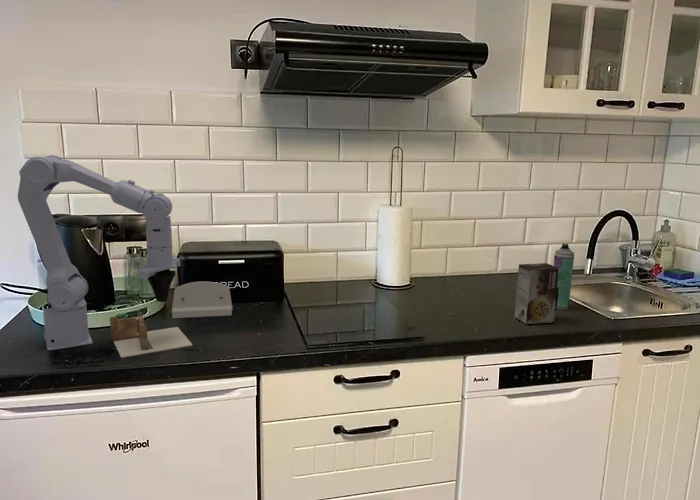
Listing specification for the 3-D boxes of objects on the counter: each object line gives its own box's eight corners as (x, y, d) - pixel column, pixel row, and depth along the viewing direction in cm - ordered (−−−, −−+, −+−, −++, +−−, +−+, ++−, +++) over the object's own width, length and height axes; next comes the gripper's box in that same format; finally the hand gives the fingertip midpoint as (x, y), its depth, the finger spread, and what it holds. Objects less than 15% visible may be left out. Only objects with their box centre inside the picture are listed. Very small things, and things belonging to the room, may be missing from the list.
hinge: (170, 318, 152) (170, 281, 153) (172, 318, 156) (171, 283, 158) (233, 315, 156) (232, 279, 157) (232, 315, 160) (231, 281, 162)
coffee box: (541, 316, 161) (546, 262, 158) (554, 324, 155) (560, 267, 152) (513, 318, 159) (518, 263, 156) (525, 325, 153) (530, 269, 149)
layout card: (121, 357, 124) (121, 356, 124) (111, 338, 136) (111, 336, 136) (192, 345, 133) (192, 344, 132) (177, 328, 144) (177, 326, 144)
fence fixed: (111, 341, 133) (110, 319, 132) (110, 339, 134) (109, 317, 133) (138, 337, 136) (136, 315, 135) (136, 335, 138) (135, 313, 136)
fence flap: (137, 334, 137) (136, 312, 136) (144, 333, 138) (143, 312, 137) (140, 349, 128) (139, 326, 127) (148, 348, 128) (146, 325, 127)
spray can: (564, 305, 172) (571, 242, 168) (571, 311, 167) (578, 246, 163) (546, 305, 172) (553, 242, 168) (552, 310, 167) (559, 245, 163)
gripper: (156, 253, 124) (159, 311, 126) (190, 241, 137) (192, 294, 140) (129, 250, 125) (132, 308, 128) (165, 239, 139) (167, 291, 142)
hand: (161, 300), depth 134 cm, fingers closed
